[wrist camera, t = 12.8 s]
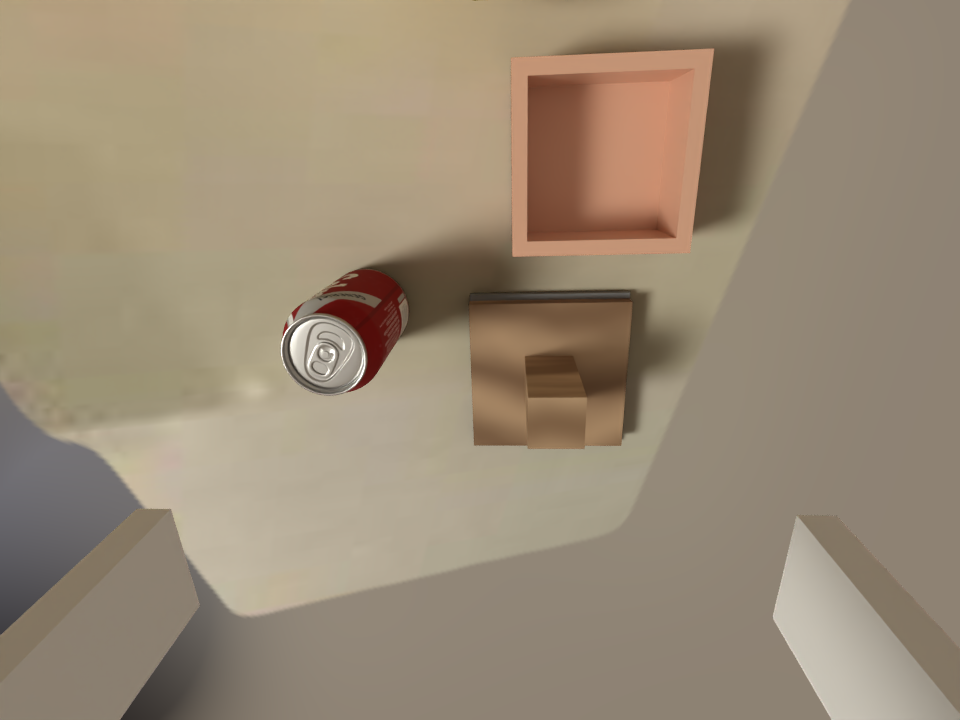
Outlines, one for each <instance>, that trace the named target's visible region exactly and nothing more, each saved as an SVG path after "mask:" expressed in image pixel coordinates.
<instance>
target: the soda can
mask: <svg viewBox="0 0 960 720" xmlns="http://www.w3.org/2000/svg"><path fill="white" fill-rule="evenodd" d="M408 318H409V304H408V300H407V297H406V295H405V293H404V291H403V289H402V288H401V287H400V285H399V284H398V283H397V282H396V281H395V280H394V279H393V278H391V277H390V276H388V275H387V274H385V273H383V272H380V271H377V270H373V269H358V270H354V271H351V272H349V273H347V274H345V275H344V276H342V277H341V278H339V279H338V280H337V281H335V282H334V283H332V284H331V285H329V286H328V287H326V288H325V289H323V290H322V291H320V292H319V293H317V294H316V295H314V296H313V297H311V298H310V299H308V300H307V301H305V302H304V303H303V304H301V305H300V306H298V307H297V308H296V309H295V310H294V311H293V312H292V313H291V315H290V316H289V318H288V320H287V322H286V324H285V327H284V331H283V339H282V342H281V357H282V361H283V364H284V367H285V369H286V370H287V372H288V374H289V375H290V376H291V378H292V379H293V380H294V381H295V382H296V383H297V384H299V385H300V386H301V387H303V388H304V389H306V390H308V391H310V392H313V393H316V394H320V395H327V396H331V395H339V394H342V393H345V392H350V391H354V390H357V389H359V388H361V387H363V386H364V385H366V384H367V383H369V382H370V381H371V380H372V379H373V378H374V376H375V375H376V374H377V372H378V371H379V369H380V367H381V366H382V364H383V363H384V361H385V360H386V358H387V356H388V355H389V353H390V352H391V350H392V348H393V347H394V345H395V344H396V342H397V340H398V339H399V337H400V336H401V334H402V333H403V331H404V329H405V327H406V325H407V322H408Z"/></svg>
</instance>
